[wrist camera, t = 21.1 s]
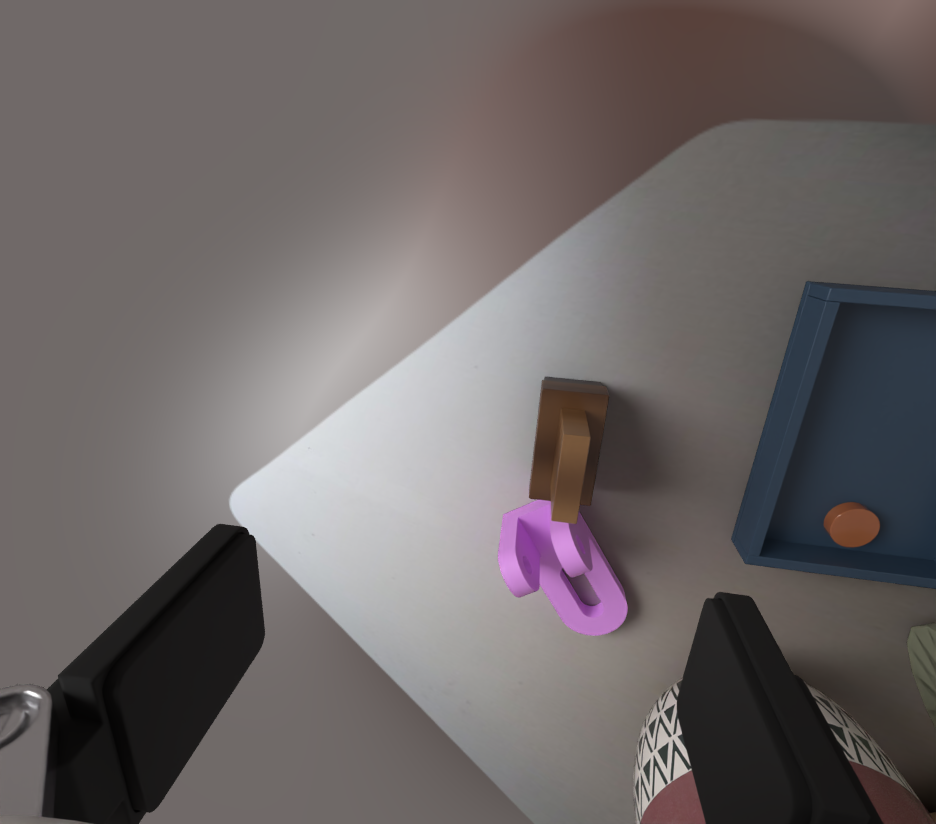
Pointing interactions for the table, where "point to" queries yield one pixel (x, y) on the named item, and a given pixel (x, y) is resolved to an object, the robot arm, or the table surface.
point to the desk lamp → (933, 815)
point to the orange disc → (851, 524)
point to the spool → (924, 664)
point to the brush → (567, 444)
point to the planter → (675, 794)
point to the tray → (850, 438)
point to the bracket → (560, 567)
